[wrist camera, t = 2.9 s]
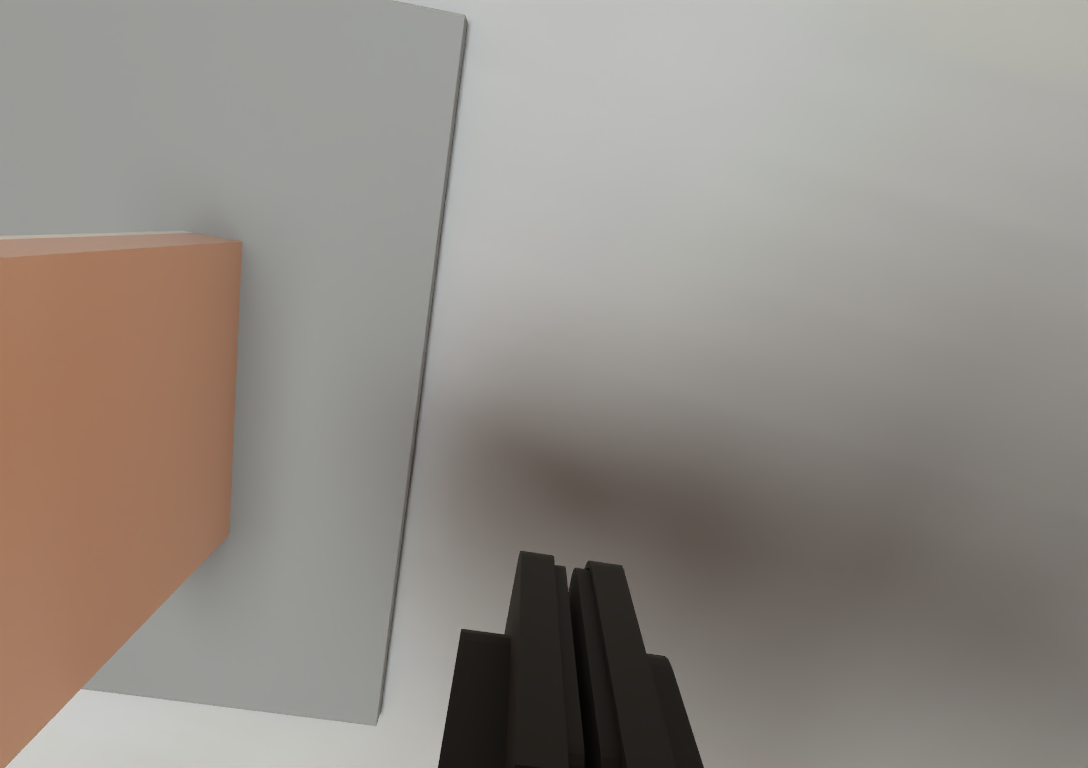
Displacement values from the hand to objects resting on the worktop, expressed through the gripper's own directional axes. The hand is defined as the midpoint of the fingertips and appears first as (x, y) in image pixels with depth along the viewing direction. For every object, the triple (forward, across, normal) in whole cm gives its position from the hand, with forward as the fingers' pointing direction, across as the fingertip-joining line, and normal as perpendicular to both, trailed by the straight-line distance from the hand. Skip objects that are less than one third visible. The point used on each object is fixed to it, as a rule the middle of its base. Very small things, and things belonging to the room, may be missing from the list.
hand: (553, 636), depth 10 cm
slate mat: (+9, +14, 0) cm, 17 cm away
